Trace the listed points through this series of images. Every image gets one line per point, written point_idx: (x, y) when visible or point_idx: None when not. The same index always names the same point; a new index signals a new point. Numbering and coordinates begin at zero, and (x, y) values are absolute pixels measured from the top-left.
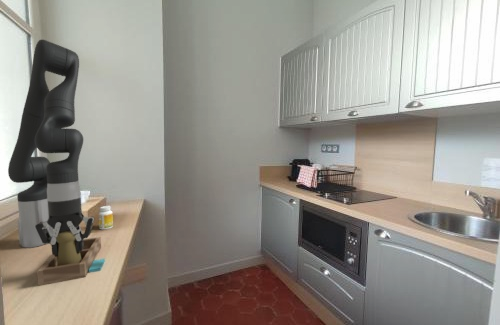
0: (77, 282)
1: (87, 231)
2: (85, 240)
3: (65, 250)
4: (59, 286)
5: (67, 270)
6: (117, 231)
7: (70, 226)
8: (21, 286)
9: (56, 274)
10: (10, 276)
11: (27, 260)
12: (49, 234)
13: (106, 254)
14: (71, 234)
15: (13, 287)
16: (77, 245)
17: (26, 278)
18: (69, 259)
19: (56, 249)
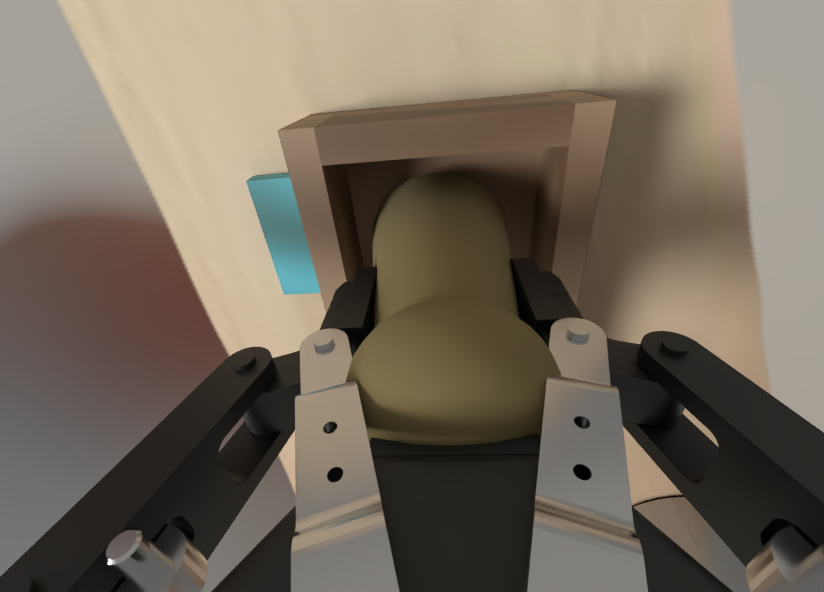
0: (329, 45)
1: (196, 411)
2: None
3: (442, 254)
4: (431, 23)
5: (402, 113)
6: None
7: (352, 512)
8: (671, 117)
9: (473, 104)
10: (743, 268)
11: None
12: (657, 460)
13: None
14: (368, 381)
15: (714, 121)
16: (356, 303)
17: (659, 216)
18: (415, 212)
19: (529, 288)
